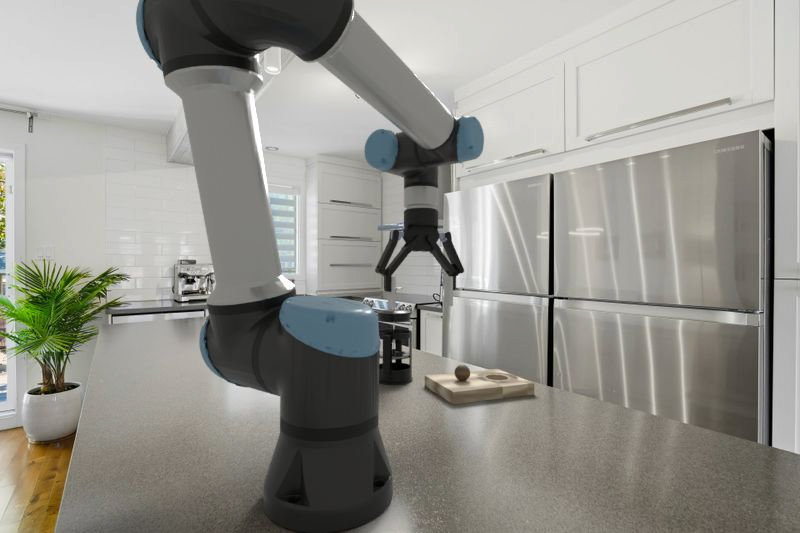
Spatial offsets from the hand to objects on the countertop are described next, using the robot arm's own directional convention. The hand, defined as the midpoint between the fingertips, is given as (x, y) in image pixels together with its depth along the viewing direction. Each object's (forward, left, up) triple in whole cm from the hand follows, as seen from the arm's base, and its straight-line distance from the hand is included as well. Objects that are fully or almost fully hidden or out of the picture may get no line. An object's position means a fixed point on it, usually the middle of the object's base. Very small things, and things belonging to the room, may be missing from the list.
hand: (420, 306), depth 90 cm
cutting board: (-1, -14, -19) cm, 24 cm away
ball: (-1, -10, -15) cm, 18 cm away
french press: (+14, +1, -19) cm, 24 cm away
